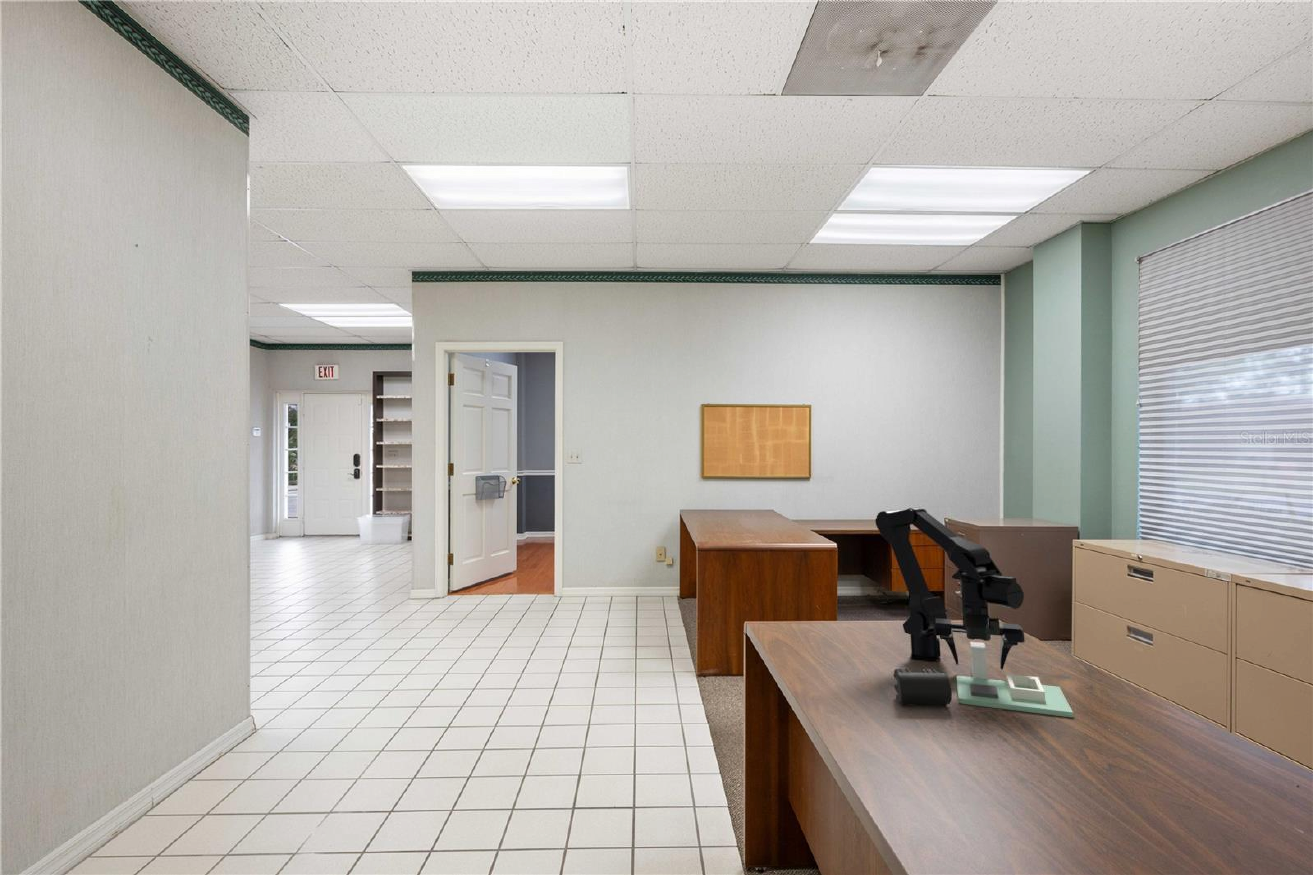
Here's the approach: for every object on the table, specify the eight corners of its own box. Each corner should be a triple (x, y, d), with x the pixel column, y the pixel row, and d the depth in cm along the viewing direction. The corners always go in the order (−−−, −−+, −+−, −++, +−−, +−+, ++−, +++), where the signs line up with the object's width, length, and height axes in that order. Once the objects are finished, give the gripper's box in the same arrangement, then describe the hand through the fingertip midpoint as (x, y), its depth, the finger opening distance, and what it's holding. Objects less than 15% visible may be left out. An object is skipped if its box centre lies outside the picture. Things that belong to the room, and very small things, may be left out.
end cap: (902, 711, 120) (900, 677, 120) (893, 697, 127) (891, 665, 127) (953, 712, 118) (951, 678, 119) (941, 698, 125) (939, 666, 126)
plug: (973, 678, 136) (971, 647, 136) (971, 669, 141) (969, 640, 141) (987, 679, 134) (985, 649, 135) (985, 671, 140) (984, 642, 140)
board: (958, 703, 122) (957, 688, 122) (956, 680, 135) (955, 666, 135) (1073, 717, 114) (1072, 702, 114) (1059, 691, 126) (1058, 677, 126)
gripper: (931, 605, 135) (935, 673, 134) (1025, 611, 127) (1030, 683, 126) (931, 594, 145) (935, 658, 144) (1019, 599, 137) (1023, 667, 136)
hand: (979, 666), depth 137 cm, fingers open, 9 cm apart
